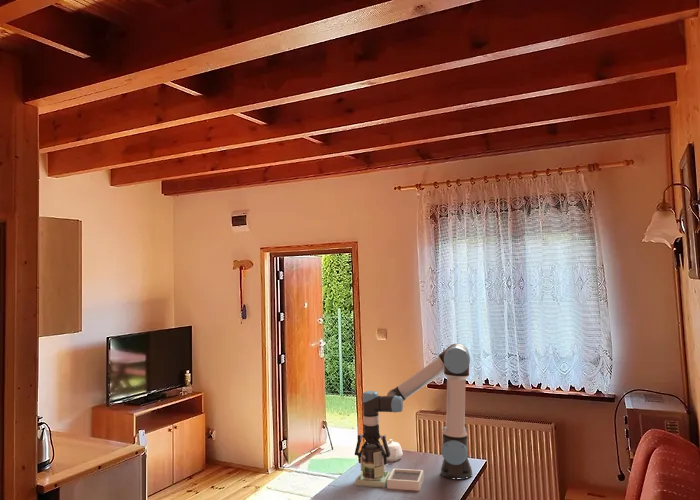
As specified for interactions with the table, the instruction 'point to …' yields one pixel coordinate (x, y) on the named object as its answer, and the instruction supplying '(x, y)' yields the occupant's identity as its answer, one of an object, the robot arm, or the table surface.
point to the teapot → (393, 450)
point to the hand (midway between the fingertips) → (373, 470)
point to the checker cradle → (405, 483)
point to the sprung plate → (406, 476)
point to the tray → (372, 481)
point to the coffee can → (372, 462)
